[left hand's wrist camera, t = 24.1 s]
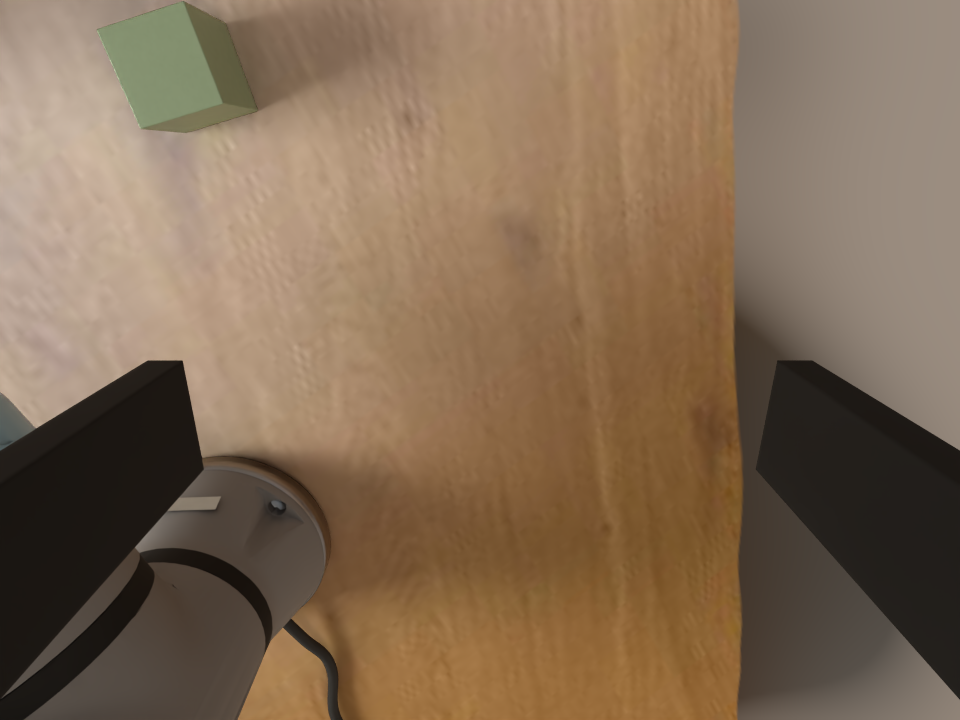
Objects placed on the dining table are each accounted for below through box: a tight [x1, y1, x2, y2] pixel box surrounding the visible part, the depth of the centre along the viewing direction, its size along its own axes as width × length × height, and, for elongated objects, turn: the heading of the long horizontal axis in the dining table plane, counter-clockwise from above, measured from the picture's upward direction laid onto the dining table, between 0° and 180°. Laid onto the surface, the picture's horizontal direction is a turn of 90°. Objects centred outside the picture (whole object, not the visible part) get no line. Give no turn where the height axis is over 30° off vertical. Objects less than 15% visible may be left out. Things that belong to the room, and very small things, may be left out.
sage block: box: [97, 1, 258, 133], centre depth 32 cm, size 5×5×5 cm
